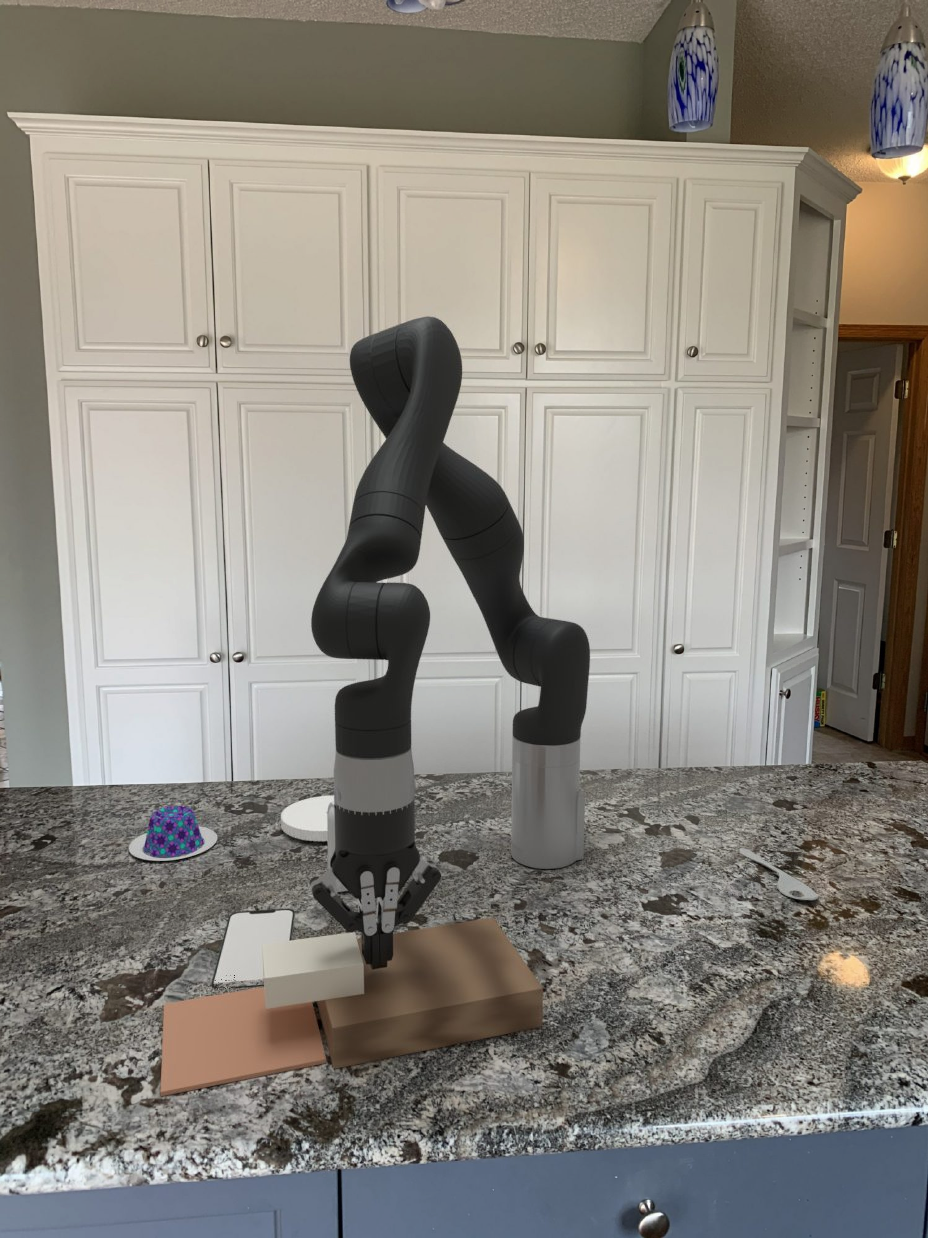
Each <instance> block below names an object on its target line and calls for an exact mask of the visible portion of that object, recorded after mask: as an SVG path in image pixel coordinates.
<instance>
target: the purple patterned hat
mask: <svg viewBox="0 0 928 1238" xmlns="http://www.w3.org/2000/svg"><path fill="white" fill-rule="evenodd" d="M217 842H218V835H217V833H216V832H215V831H214V830H213V829H210V828H208V827H205V826H200V825H199V823H198V821H197V818H196V815H195V812H194V811H193V810H192V808H191V807H189V806H183V805H174V806H165V807H162V808H161V809H157V810H155V811H154V812H153V813H152V814H151V816H150V819H149V822H148V826H147V831H146V833H143V834H141V835H139V836H138V837H136V838H135V839H133V840H132V841H131V842H130V843H129V846H128V851H129V853H130V855H132V856H133V857H136V858H138V859H141V860H145V861H155V862H160V861H162V862H163V861H165V862H166V861H175V860H180V859H186V858H189V857H192V856H196V855H198V854H202V853H204V852H206V851H207V850H210V849H211V848H212V847H213V846H214V845H215V844H216V843H217ZM198 848H199V849H198ZM148 854H150V855H148Z"/></svg>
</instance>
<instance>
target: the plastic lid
mask: <svg viewBox="0 0 928 1238" xmlns="http://www.w3.org/2000/svg"><path fill="white" fill-rule="evenodd" d="M332 801H334V794H333V795H323V796H321V795H320V796H313V797H308V798H305V799H301V800H298V801H296V802H293V803H292V804H290V805H287V807H285V808H284V809H283V810H282V811H281V813H280V827H281V830H282V831H283V833H285V834H286V835H287V836H290V837H291V838H295V839H298V840H302V841H310V842H312V841H313V842H328V832H327V810H328V806H329V804H330V803H331V802H332Z"/></svg>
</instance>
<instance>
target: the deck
mask: <svg viewBox="0 0 928 1238" xmlns="http://www.w3.org/2000/svg"><path fill="white" fill-rule="evenodd" d="M356 939H357V942H358V946H359V950H360V953H361V957H362V960H363V964H364V994H360V995H353V996H347V997H340V998H333V999H327V1000H320V1001H316V1004H317V1007H318V1012H319V1016H320V1021H321V1025H322V1028H323V1031H324V1037H325V1040H326V1044H327V1048H328V1052H329V1057H330V1061H331V1064H332V1068H333V1070H336V1069H341V1068H346V1067H350V1066H357V1065H360V1064H365V1063H370V1062H376V1061H380V1060H386V1059H390V1058H395V1057H399V1056H404V1055H409V1054H415V1053H419V1052H424V1051H430V1050H434V1049H440V1048H444V1047H448V1046H449V1047H450V1046H453V1045H458V1044H459V1045H460V1044H464V1043H468V1042H473V1041H477V1040H484V1039H488V1038H493V1037H498V1036H502V1035H503V1036H504V1035H507V1034H513V1033H517V1032H522V1031H528V1030H533V1029H536V1028H537V1029H538V1028H543V1017H544V1016H543V1012H544V1011H543V1007H544V1005H543V1004H544V1002H543V1001H544V988H543V986H542V985H541V984H540V982H539V980H538V979H537V977H536V976H535V975H534V972H532V970H531V969H530V968H529V966H528V965H527V963H526V961H524V959H523V958H522V956H521V955H520V953H519V951H518V950H517V949H516V948H515V946H514V944H513V943H512V941H510V939H509V937H508V936H507V934H506V933H505V932H504V930H503V929H502V927H501V926H500V924H499V923H498V921H497V920H496V919H495V918H494V917H489V918H488V917H487V918H481V919H475V920H468V921H462V922H456V923H451V924H450V923H449V924H443V925H438V926H431V927H423V928H418V929H412V930H407V931H406V930H405V931H399V932H395V933H394V932H393V958H392V960H391V961H387V967H385V968H379V969H373V970H372V968H371V966H370V964H366V962H365V960H364V957H363V955H362V943H361V938H356Z"/></svg>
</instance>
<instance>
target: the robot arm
mask: <svg viewBox="0 0 928 1238" xmlns="http://www.w3.org/2000/svg"><path fill="white" fill-rule="evenodd" d="M462 359H463V358H462V355H461V352H460V347H459V345H458V343H457V341H456V338H455V336H454V334H453V332H452V331H451V330H450V328H449V327H448V326H447V324H446V323H444V321H442V320H441V319H439V318H437V317H436V316H430V315H429V316H423V317H418V318H415V319H411V320H407V321H404V322H403V323H399V324H397V325H394V326H392V327H389V328H386V329H383V330H380V331H378V332H375V333H373V334H370V335H368V336H365V337H364V338H361V339H359V340H358V341H357V342H355V343H354V345H353V346H352V347H351V349H350V353H349V368H350V372H351V373H350V374H351V377H352V380H353V383H354V386H355V388H356V391H357V392H358V395H359V396H360V400H361V401H362V403H363V405H364V406H365V409H367V411H368V413H369V414H370V416H371V418H372V419H373V422H374V423H375V424H376V425H377V427H378V428H379V430H380V432H381V433H382V435H383V437H384V438H385V440H384V442H383V443H382V444H381V445H380V447H379V449H378V450H377V452H376V453H375V454H374V456H373V457H372V459H371V460H370V461H369V463H368V465H367V466H366V468H365V470H364V472H363V474H362V475H361V478H360V480H359V482H358V484H357V488H356V489H355V493H354V498H353V502H352V503H353V504H352V508H351V515H350V521H349V525H348V530H347V535H346V538H345V542H344V544H343V546H342V548H341V550H340V553H339V554H338V556H337V558H336V560H335V562H334V564H333V566H332V568H331V570H330V571H329V573H328V574H327V577H326V578H325V580H324V582H323V584H322V586H321V588H320V590H319V592H318V593H317V596H316V598H315V601H314V604H313V608H312V613H311V620H310V621H311V622H310V627H311V633H312V637H313V640H314V642H315V645H316V646H317V648H318V649H319V650H320V652H322V653H323V654H324V655H326V656H327V657H330V658H334V659H342V660H344V659H345V660H373V661H374V660H376V661H384V660H385V661H387V669H386V672H385V674H384V675H382V676H380V677H377V678H374V679H370V680H363V681H357V682H353V683H349V684H347V685H345V686H343V687H342V688H341V689H339V690H338V692H336V695H335V700H334V728H335V729H334V733H335V734H334V735H335V758H334V764H333V795H334V814H335V851H334V854H333V856H332V858H331V860H330V867H331V868H329V869H328V868H327V870H326V871H325V872H324V873H323V874H321V875H320V876H317V875H316V876H313V877H311V878H310V880H309V882H308V883H309V888H310V890H311V893H312V897H313V898H314V899H315V900H316V901H317V902H318V904H320V905H321V907H322V908H323V909H324V910H326V912H327V913H328V914H330V916H331V917H333V919H335V920H336V922H337V923H338V924H340V926H341V927H342V928H343V929H345V930H346V932H347V933H352V932H355V933H356V931H357V932H360V934H361V936H360V937H361V938H360V939H361V943H362V955H363V957H364V960H365V962H366V964H370V966H371V968H372V970H373V969H379V968H385V967H387V961H391V960H392V958H393V933H394V930H395V929H396V928H397V926H399V925H401V924H404V925H405V924H410V922H411V921H412V920H413V919H414V917H415V916H416V914H417V913H418V912H419V910H420V908H421V907H422V906H423V905H424V903H425V902H426V900H427V899H428V897H429V896H430V895H431V894H432V892H433V891H434V889H435V888H436V886H437V885H438V884H439V882H440V881H441V880H442V873H441V871H440V870H439V868H438V867H437V866H436V864H435V862H434V861H433V860H431V859H430V860H429V859H428V860H425V859H424V858H422V857H421V854H420V851H419V849H418V848H417V845H416V823H415V821H416V820H415V819H416V812H415V811H416V810H415V808H416V807H415V805H416V803H415V798H416V797H415V795H416V787H417V786H416V785H417V784H416V783H417V782H416V780H415V766H414V761H413V752H412V702H413V696H414V695H413V693H414V687H415V682H416V681H415V680H416V677H417V672H418V669H419V664H420V660H421V657H422V654H423V650H424V648H425V644H426V640H427V637H428V635H429V628H430V623H431V609H430V605H429V603H428V600H427V598H426V597H425V596H426V595H424V593H423V592H422V591H421V590H420V588H418V587H417V586H416V585H414V584H413V583H406V582H382V581H384V580H388V579H393V578H396V577H400V576H403V575H406V574H408V573H409V572H411V571H412V570H413V568H414V567H415V566H416V565H417V563H418V560H419V556H420V550H421V544H422V537H423V531H424V530H423V529H424V521H425V516H426V515H425V514H426V509H427V510H428V512H429V514H430V515H431V518H432V520H433V522H434V524H435V526H436V528H437V531H438V532H439V534H440V536H441V538H442V540H443V542H444V544H445V545H446V547H447V549H448V551H449V554H450V555H451V557H452V558H453V560H454V562H455V564H456V565H457V567H458V569H459V571H460V572H461V575H462V576H463V578H464V580H465V582H466V585H467V586H468V588H469V590H470V593H471V595H472V596H473V599H474V600H475V603H476V604H477V606H478V608H479V610H480V613H481V614H482V617H483V620H484V622H485V624H486V627H487V629H488V632H489V635H490V638H491V640H492V643H493V645H494V647H495V650H496V653H497V655H498V657H499V660H500V662H501V665H502V667H503V668H504V669H505V671H506V672H507V673H508V675H509V676H510V677H512V678H513V679H515V680H516V681H519V682H520V683H523V684H528V685H531V686H536V687H539V688H540V690H539V700H538V704H537V706H532V707H528V708H524V709H521V710H519V711H518V712H516V713H515V714H514V716H513V719H512V741H511V744H512V745H511V747H512V749H511V750H512V751H511V756H512V757H511V758H512V759H511V762H512V763H511V820H510V821H511V823H510V824H511V827H510V828H511V829H510V831H511V833H510V835H511V836H510V854H511V857H512V859H513V860H514V861H516V862H517V863H519V864H521V865H524V866H526V867H530V868H534V869H542V870H543V869H545V870H549V869H550V870H551V869H552V870H553V869H561V868H564V867H568V866H570V865H572V864H574V863H575V862H576V861H580V860H584V849H585V847H584V843H585V809H586V806H585V805H586V796H585V792H584V791H582V790H581V788H580V778H581V777H580V774H581V773H580V772H581V771H580V770H581V769H580V767H581V736H582V735H581V734H582V733H581V732H582V724H583V723H584V722H583V721H584V719H585V716H586V711H587V704H588V690H589V689H588V688H589V677H590V667H591V650H590V649H591V648H590V642H589V637H588V635H587V632H586V631H585V629H584V628H583V627H582V626H581V625H579V624H578V623H575V622H573V621H568V620H562V619H555V618H550V617H541V616H539V615H538V614H537V613H536V612H535V611H534V610H533V607H532V606H531V605H530V603H529V601H528V600H527V597H526V595H525V593H524V591H523V589H522V585H521V581H520V576H521V571H522V570H521V569H522V565H523V559H524V552H525V541H524V539H525V538H524V532H523V529H522V526H521V523H520V522H519V519H518V517H517V515H516V513H515V511H514V509H513V507H512V505H511V502H510V500H509V498H508V496H507V494H506V492H505V491H504V489H503V487H502V486H501V485H500V484H499V483H498V482H497V480H495V479H494V478H493V477H492V475H490V474H488V473H487V472H486V471H485V470H483V469H481V468H480V467H479V466H478V465H476V464H474V463H473V462H471V461H470V460H468V459H467V458H466V457H464V456H462V455H461V454H460V453H458V452H457V451H455V450H454V449H453V448H451V447H449V446H448V445H447V444H446V443H445V442H444V440H445V438H446V435H447V431H448V429H449V427H450V423H451V420H452V417H453V413H454V410H455V408H456V405H457V401H458V399H459V395H460V392H461V391H460V390H461V386H462V382H463V381H462V380H463V361H462ZM380 581H381V582H380ZM411 876H412V879H411V881H410V882H409V884H408V885H407V887H405V889H404V891H403V892H402V894H401V895H400V896H399V895H398V893H399V892H400V891H402V889H403V888H404V886H405V885H406V883H407V882H408V880H409V879H410V878H411ZM337 879H338V880H339V881H340V882H341V883H342V884H343V886H344V887H345V888H346V889H347V890H348V891H347V892H349V893H350V895H351V896H352V897H353V898H355V899H356V901H357V908H358V911H355V910H352V908H351V907H350V906H349V905H347V903H346V902H345V901H344V899H342V898H341V897H340V896H339V895H338V893H339V892H338V888H337V885H336V880H337ZM398 896H399V898H398ZM376 899H377V902H376ZM376 903H377V904H376Z"/></svg>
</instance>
